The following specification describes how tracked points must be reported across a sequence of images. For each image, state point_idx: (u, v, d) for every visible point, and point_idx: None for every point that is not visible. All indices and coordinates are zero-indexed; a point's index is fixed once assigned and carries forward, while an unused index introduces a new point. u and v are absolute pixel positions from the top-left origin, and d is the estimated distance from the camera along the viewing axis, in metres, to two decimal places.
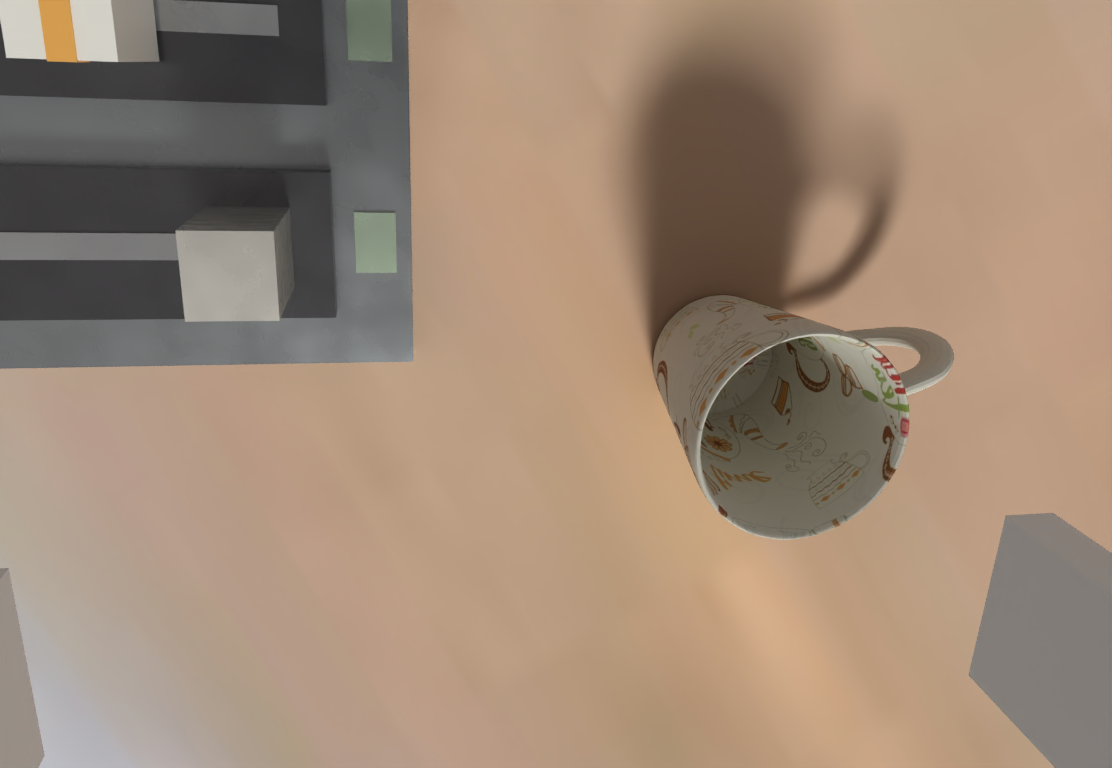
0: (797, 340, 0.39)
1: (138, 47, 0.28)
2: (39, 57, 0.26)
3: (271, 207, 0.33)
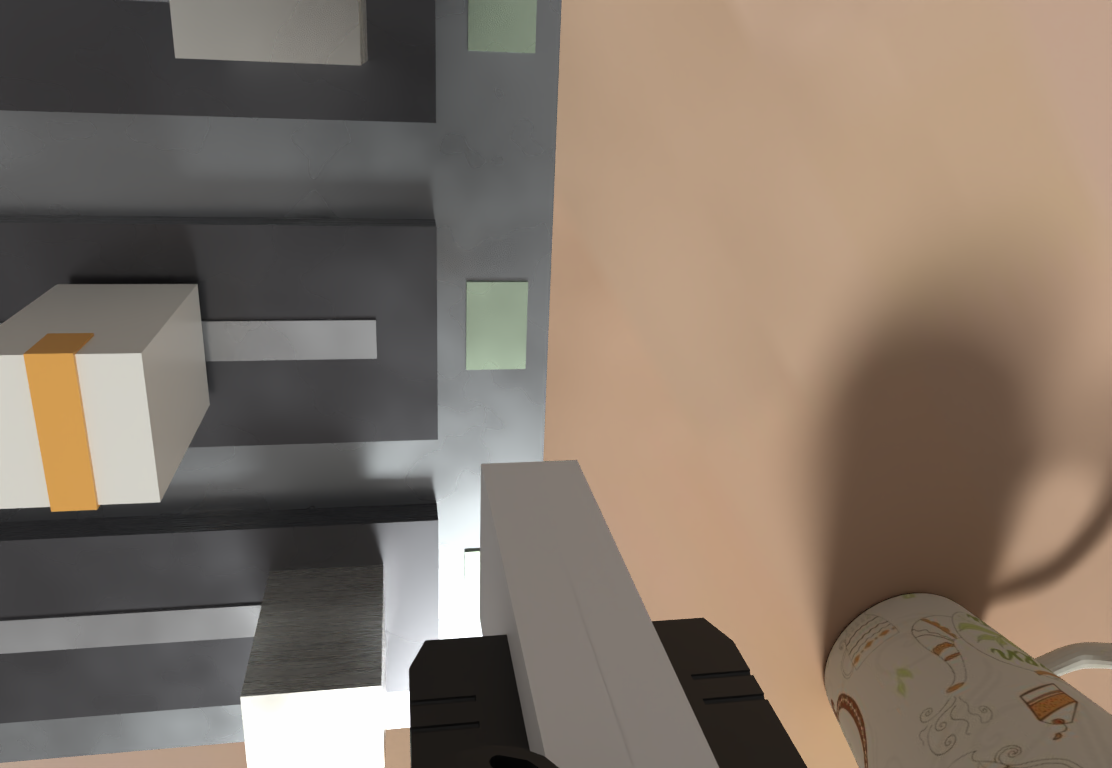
0: None
1: (185, 430, 0.19)
2: (39, 505, 0.17)
3: (359, 568, 0.24)
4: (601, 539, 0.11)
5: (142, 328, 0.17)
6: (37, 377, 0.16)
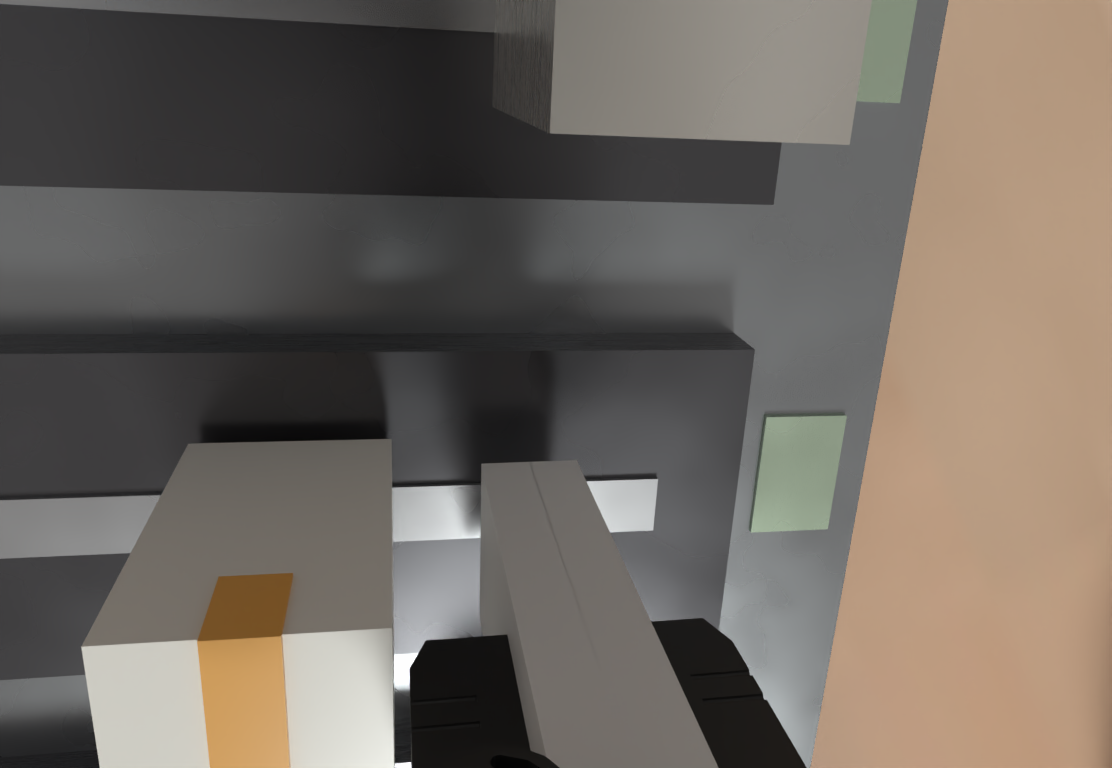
0: None
1: None
2: None
3: None
4: (601, 539, 0.11)
5: (360, 555, 0.11)
6: (217, 677, 0.09)
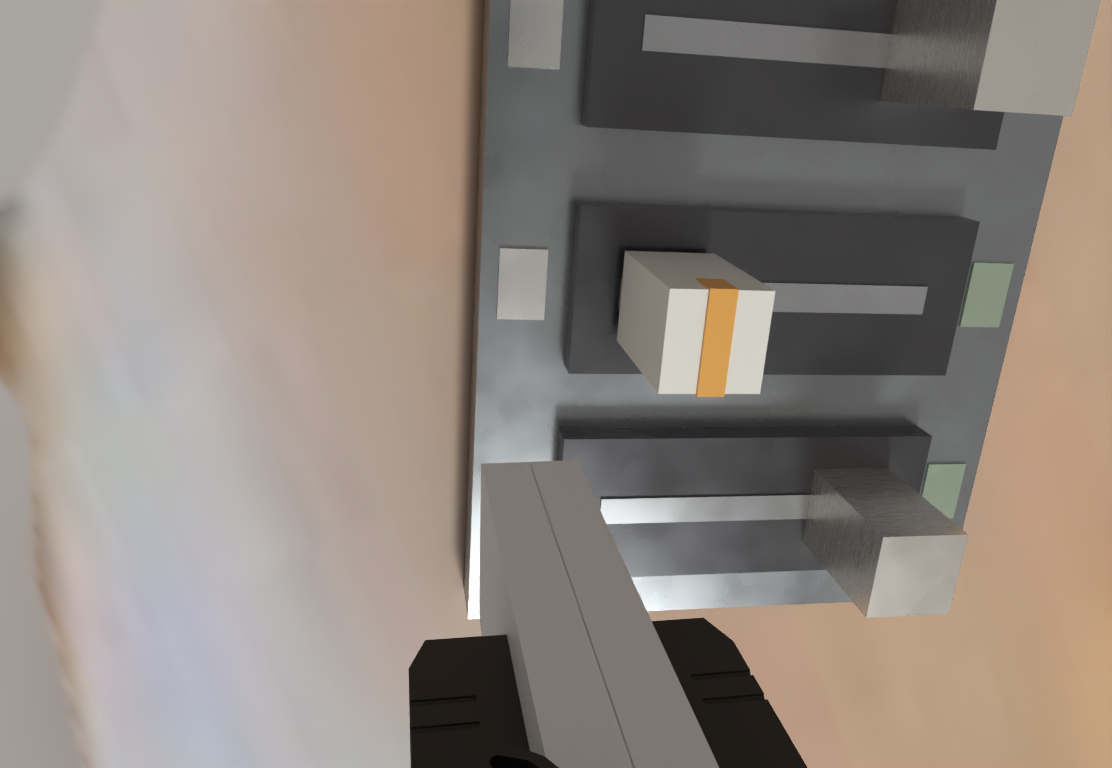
0: None
1: None
2: (688, 392, 0.25)
3: (874, 469, 0.33)
4: (601, 539, 0.11)
5: (742, 278, 0.26)
6: (714, 304, 0.24)
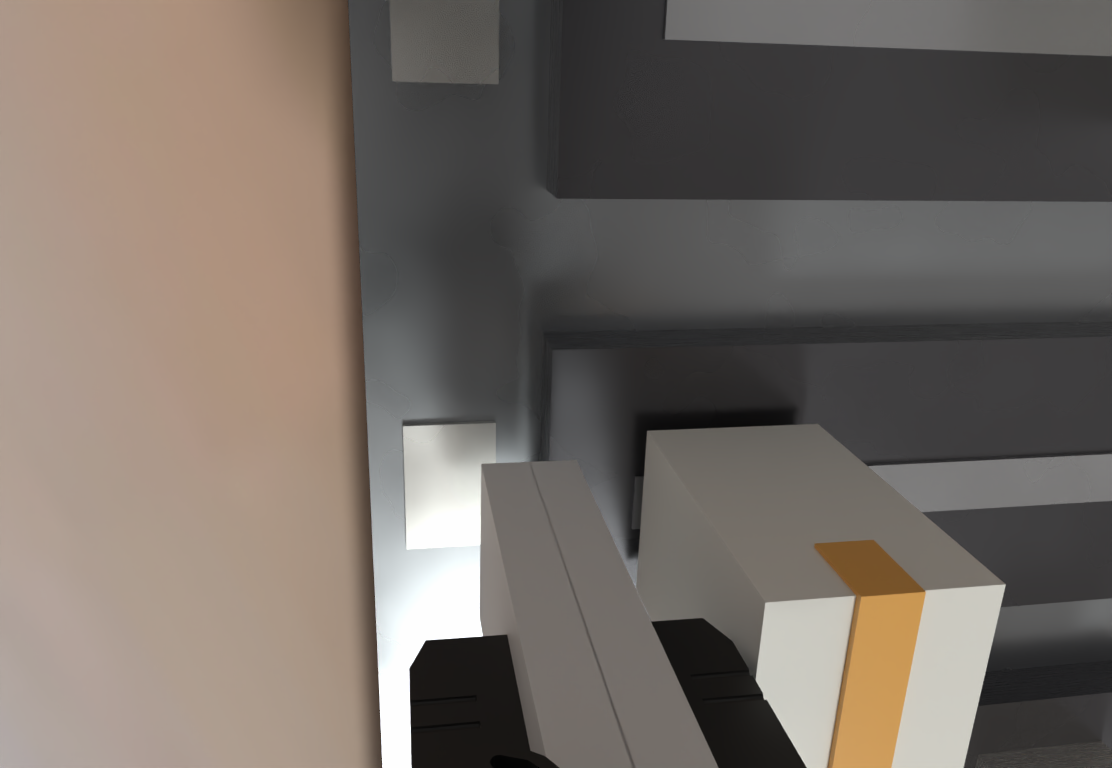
0: None
1: None
2: None
3: (1079, 747, 0.19)
4: (601, 539, 0.11)
5: (908, 523, 0.12)
6: (868, 629, 0.10)
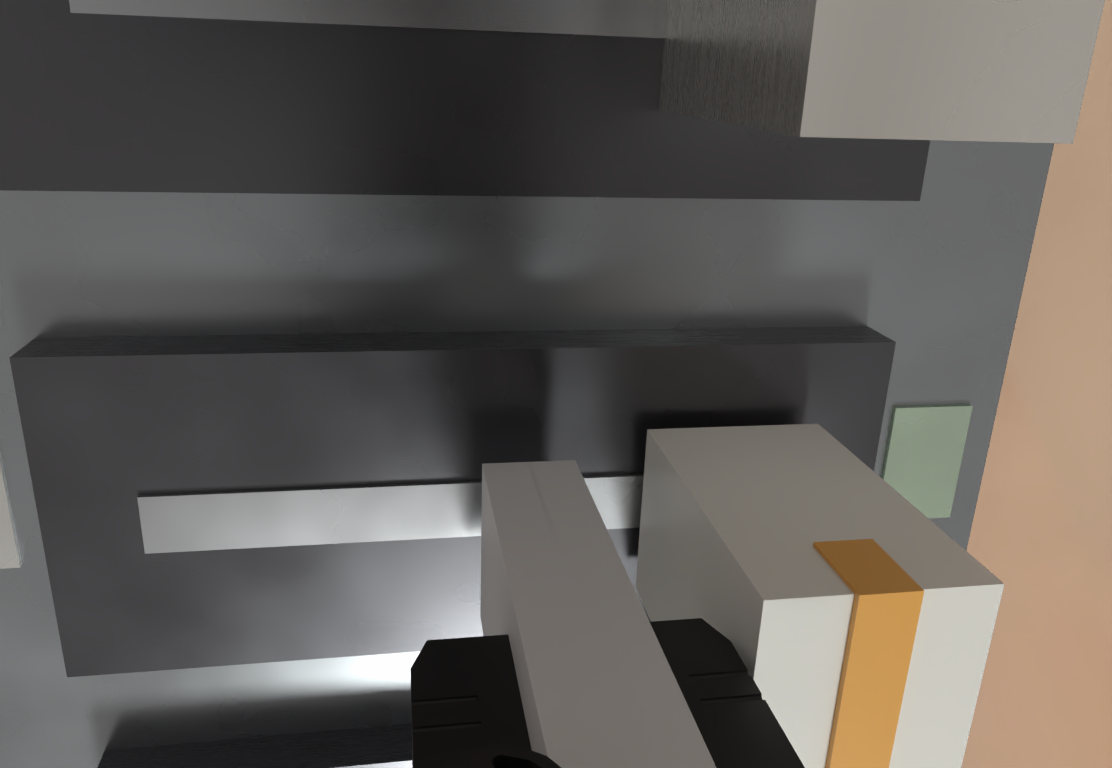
0: None
1: None
2: None
3: None
4: (599, 539, 0.11)
5: (907, 523, 0.12)
6: (866, 626, 0.10)
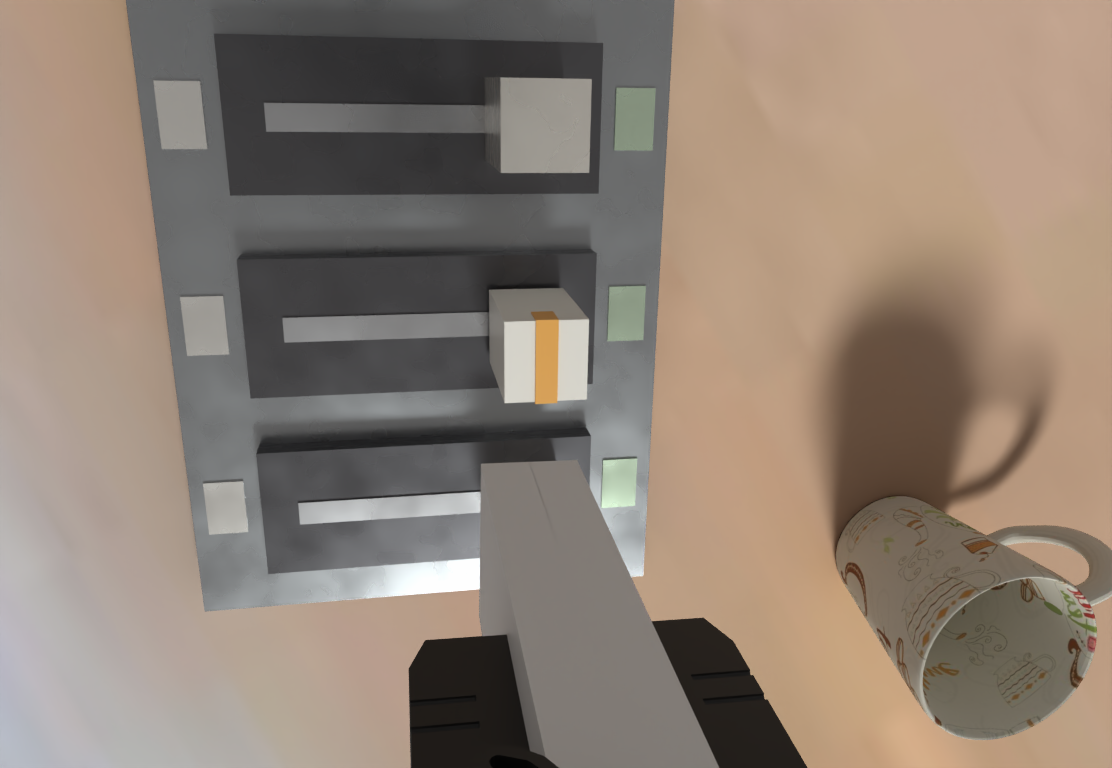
0: None
1: None
2: (529, 401, 0.32)
3: None
4: (601, 539, 0.11)
5: (570, 309, 0.33)
6: (540, 332, 0.31)
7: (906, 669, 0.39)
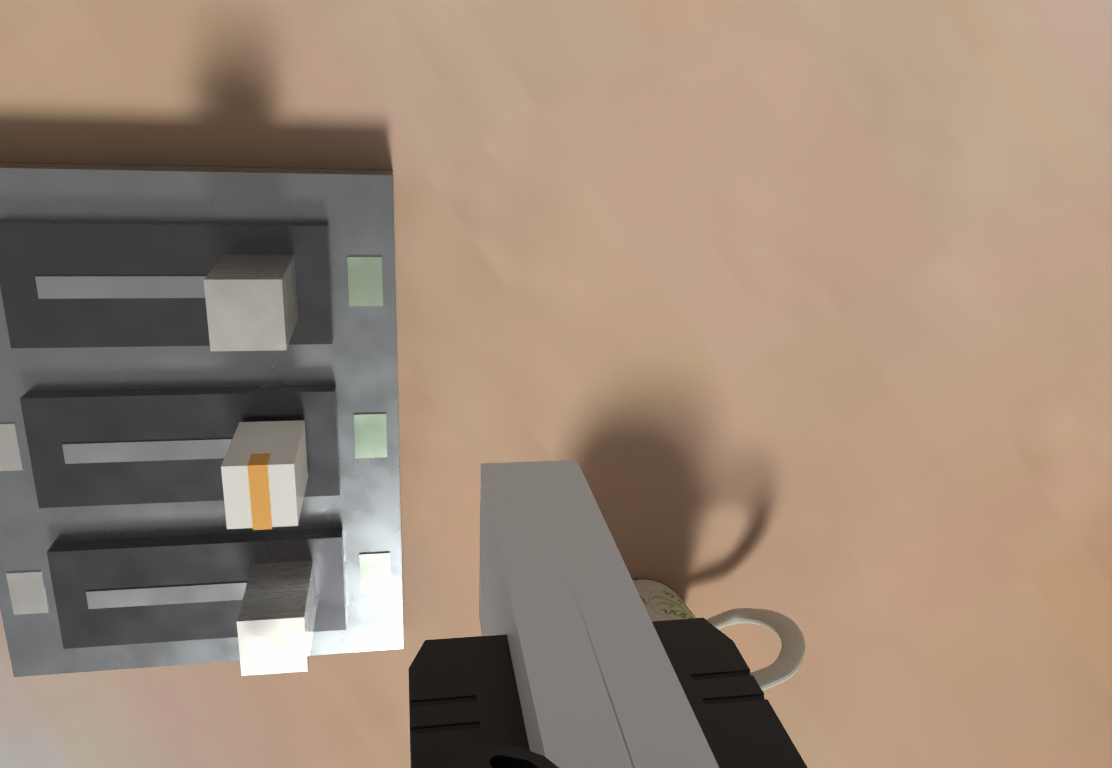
0: None
1: (302, 492, 0.41)
2: (248, 527, 0.39)
3: (299, 562, 0.46)
4: (601, 539, 0.11)
5: (289, 449, 0.40)
6: (252, 474, 0.38)
7: None
